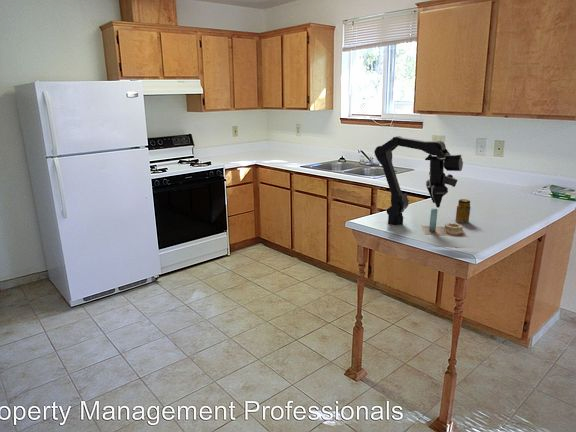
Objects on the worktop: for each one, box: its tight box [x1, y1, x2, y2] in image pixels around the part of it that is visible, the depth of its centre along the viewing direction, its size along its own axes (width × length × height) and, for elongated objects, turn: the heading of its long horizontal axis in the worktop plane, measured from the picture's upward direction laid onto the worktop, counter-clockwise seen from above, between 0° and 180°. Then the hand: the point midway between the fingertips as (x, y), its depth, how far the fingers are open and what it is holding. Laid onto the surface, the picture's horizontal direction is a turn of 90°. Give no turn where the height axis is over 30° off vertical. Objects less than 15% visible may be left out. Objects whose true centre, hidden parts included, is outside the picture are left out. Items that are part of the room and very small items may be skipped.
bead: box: [444, 222, 464, 234], centre depth 193 cm, size 7×7×3 cm
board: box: [421, 225, 468, 238], centre depth 195 cm, size 18×13×1 cm
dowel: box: [428, 208, 438, 232], centre depth 193 cm, size 3×3×10 cm
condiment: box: [455, 198, 471, 225], centre depth 206 cm, size 7×8×12 cm
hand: (436, 205), depth 192 cm, fingers open, 9 cm apart
